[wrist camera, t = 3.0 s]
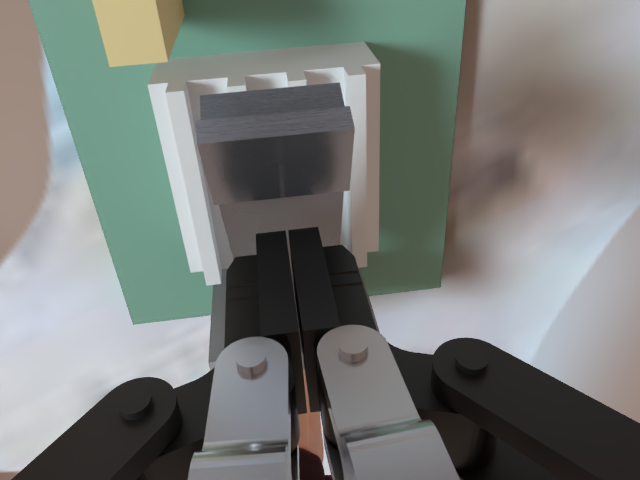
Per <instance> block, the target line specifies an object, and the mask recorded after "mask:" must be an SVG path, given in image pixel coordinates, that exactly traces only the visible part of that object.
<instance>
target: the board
mask: <svg viewBox="0 0 640 480" xmlns="http://www.w3.org/2000/svg"><path fill="white" fill-rule="evenodd" d="M28 1H29V4H30V7H31V11H32V14H33V17H34V20H35V23H36V26H37V29H38V32H39V35H40V38H41V41H42V45H43V48H44V51H45V54H46V57H47V60H48V63H49V66H50V69H51V72H52V75H53V78H54V82H55V85H56V88H57V91H58V94H59V97H60V100H61V103H62V106H63V109H64V112H65V115H66V119H67V122H68V125H69V128H70V131H71V134H72V137H73V140H74V143H75V146H76V149H77V152H78V156H79V159H80V162H81V165H82V168H83V171H84V174H85V177H86V180H87V183H88V186H89V189H90V193H91V196H92V199H93V202H94V205H95V208H96V211H97V214H98V217H99V220H100V223H101V227H102V230H103V233H104V236H105V239H106V242H107V245H108V248H109V251H110V254H111V257H112V260H113V264H114V267H115V270H116V273H117V276H118V279H119V282H120V285H121V288H122V291H123V294H124V297H125V301H126V304H127V307H128V310H129V313H130V316H131V319H132V322H133V325H134V324H142V323H150V322H159V321H167V320H175V319H183V318H192V317H200V316H208V315H211V329H210V346H209V367H210V371H211V370H212V369H213V368H214V367H215V363H216V360H217V358H218V356H219V355H220V353H221V352H222V351H223V350H224V340H225V304H226V271H227V269H228V268H229V266H230V265H231V263H232V262H233V257H232V253H231V249H230V245H229V241H228V238H227V234H226V230H225V226H224V223H223V219H222V215H221V211H220V208H219V205H214V203H213V200H212V196H211V193H210V189H209V185H208V182H207V178H206V175H205V171H204V167H203V164H202V160H201V157H200V153H199V150H198V146H197V123H196V121H198V120H200V95H209V94H219V93H230V92H241V91H252V90H263V89H274V88H284V87H295V86H306V85H317V84H328V83H339V82H340V86H341V91H342V95H343V100H344V105H345V106H350V109H351V114H352V118H353V123H354V127H355V133H354V145H353V157H352V168H351V180H350V191H344V197H343V211H342V225H341V239H340V245H343V246H344V247H345V248H346V249H347V250H348V251H349V252H351V253H352V254H353V255H354V256H355V259H356V263H357V266H358V269H359V273H360V276H361V279H362V283H363V286H364V289H365V292H366V295H367V299H368V302H369V305H370V309H371V312H372V315H373V318H374V322H375V325H376V328H377V330H378V332H379V329H378V326H377V322H376V319H375V316H374V313H373V309H372V306H371V303H370V299H369V296H374V295H382V294H390V293H398V292H407V291H415V290H423V289H431V288H440V287H441V277H442V265H443V254H444V243H445V232H446V220H447V209H448V198H449V187H450V175H451V164H452V153H453V142H454V131H455V119H456V108H457V97H458V86H459V74H460V63H461V52H462V41H463V29H464V18H465V7H466V0H28ZM379 333H380V332H379Z"/></svg>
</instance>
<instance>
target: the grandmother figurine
mask: <svg viewBox="0 0 640 480" xmlns="http://www.w3.org/2000/svg"><path fill="white" fill-rule="evenodd" d="M303 375H304V385H305V396H306V406H307V413H305V414H298V417H299V426H300V439H299V442H298V446H299V479H300V480H333V479H332V475H324V469H323V465H322V462H323V440H322V432H321V422H320V411H319V412H311V413H310V406H309V398H308V391H307V384H306V376H305V369H304V370H303Z"/></svg>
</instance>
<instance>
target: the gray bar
mask: <svg viewBox="0 0 640 480" xmlns="http://www.w3.org/2000/svg"><path fill="white" fill-rule="evenodd" d="M196 123H197V146H198V150H199V153H200V157H201V160H202V164H203V167H204V171H205V175H206V178H207V182H208V185H209V189H210V193H211V196H212V200H213V203H214V205H219V208H220V211H221V215H222V219H223V223H224V226H225V230H226V234H227V238H228V241H229V245H230V249H231V253H232V257H233V260H234V259H235V257H239V256H248V255H257V253H256V234H257V233H266V232H275V231H284V230H286V237H287V245H288V252H289V260H290V267H291V275H292V282H293V274H292V264H291V254H290V245H289V234H288V230H292V229H301V228H310V227H318V228H319V233H320V237H321V241H322V246H323V247H326V246H335V245H340V239H341V225H342V211H343V197H344V191H350V180H351V168H352V157H353V145H354V133H355V127H354V123H353V118H352V114H351V109H350V106H345V105H344V100H343V95H342V91H341V86H340V82H339V83H328V84H317V85H306V86H295V87H284V88H274V89H263V90H252V91H241V92H230V93H219V94H209V95H200V120H198V121H196ZM293 289H294V284H293ZM294 297H295V293H294ZM295 304H296V301H295ZM296 312H297V309H296ZM297 319H298V317H297ZM298 327H299V324H298ZM299 335H300V332H299ZM300 345H301V339H300ZM301 355H302V365H303V370H304V361H303V354H302V346H301Z"/></svg>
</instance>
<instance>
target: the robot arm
mask: <svg viewBox="0 0 640 480" xmlns="http://www.w3.org/2000/svg"><path fill="white" fill-rule="evenodd" d="M288 234H289V245H290V254H291V264H292V274H293V282H292V275H291V267H290V260H289V252H288V245H287V237H286V230H284V231H275V232H266V233H257V234H256V253H257V255H248V256H239V257H235V259H234V260H233V262H232V263H231V265H230V266H229V268H228V269H227V271H226V304H225V340H224V350H223V351H222V352H221V353H220V355H219V356H218V358H217V360H216V363H215V367H214V368H213V369H212V370H211V371H210V372H208V373H207V374H206V375H204V376H202V377H201V378H199V379H197V380H195V381H192V382H190V383H187V384H185V385H182V386H180V387H177V388H175V389H173V387H172V386H171V385H170V384H169V383H167V382H166V381H164V380H162V379H159V378H154V377H143V378H137V379H133V380H130V381H127V382H125V383H123V384H121V385H119V386H118V387H116V388H114V389H113V390H112V391H111V392H109V393H108V394H107V395H106V396H105V397H104V398H103V399H102V400H100V401H99V402H98V403H97V404H96V405H95V406H94V407H93V408H91V409H90V410H89V411H88V412H87V413H86V414H85V415H83V416H82V417H81V418H80V419H79V420H78V421H77V422H76V423H74V424H73V425H72V426H71V427H70V428H69V429H68V430H67V431H65V432H64V433H63V434H62V435H61V436H60V437H59V438H58V439H56V440H55V441H54V442H53V443H52V444H51V445H50V446H49V447H47V448H46V449H45V450H44V451H43V452H42V453H41V454H40V455H38V456H37V457H36V458H35V459H34V460H33V461H32V462H31V463H29V464H28V465H27V466H26V467H25V468H24V469H23V470H22V471H20V472H19V473H18V474H17V475H16V476H15V477H14V478H13V479H12V480H300V479H299V446H298V442H299V439H300V426H299V417H298V414H305V413H307V406H306V396H305V385H304V375H303V365H302V355H301V346H302V354H303V361H304V369H305V376H306V384H307V391H308V398H309V406H310V413H311V412H319V411H320V412H321V419H322V425H323V436H324V446H325V450H326V455H327V459H328V463H329V467H330V471H331V475H332V479H333V480H640V423H638V422H636V421H634V420H632V419H630V418H629V417H627V416H625V415H623V414H621V413H619V412H617V411H615V410H613V409H612V408H610V407H608V406H606V405H604V404H602V403H600V402H598V401H597V400H595V399H593V398H591V397H589V396H587V395H585V394H583V393H582V392H580V391H578V390H576V389H574V388H572V387H570V386H568V385H567V384H565V383H563V382H561V381H559V380H557V379H555V378H554V377H552V376H550V375H548V374H546V373H544V372H542V371H540V370H539V369H537V368H535V367H533V366H531V365H529V364H527V363H525V362H524V361H522V360H520V359H518V358H516V357H514V356H512V355H510V354H509V353H507V352H505V351H503V350H501V349H499V348H497V347H495V346H493V345H492V344H490V343H487V342H485V341H482V340H479V339H474V338H457V339H453V340H449V341H447V342H445V343H443V344H442V345H441V346H439V347H438V349H437V350H436V351H435V353H434V355H430V354H422V353H414V352H408V351H405V350H401V349H399V348H397V347H394V346H393V345H391V344H389V343H388V342H387V341H386V339H385V338H384V337H383V336H382V335H381V334H380V333H379V332H378V330H377V328H376V325H375V322H374V318H373V315H372V312H371V309H370V305H369V302H368V299H367V295H366V292H365V289H364V286H363V283H362V279H361V276H360V273H359V269H358V266H357V263H356V259H355V256H354V255H353V254H352V253H351V252H349V251H348V250H347V249H346V248H345V247H344V246H343V245H335V246H326V247H323V246H322V241H321V237H320V233H319V228H318V227H310V228H301V229H292V230H288ZM293 284H294V289H293ZM294 293H295V297H294ZM295 301H296V304H295ZM296 309H297V312H296ZM297 317H298V319H297ZM298 324H299V327H298ZM299 332H300V335H299ZM300 339H301V345H300Z"/></svg>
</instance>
